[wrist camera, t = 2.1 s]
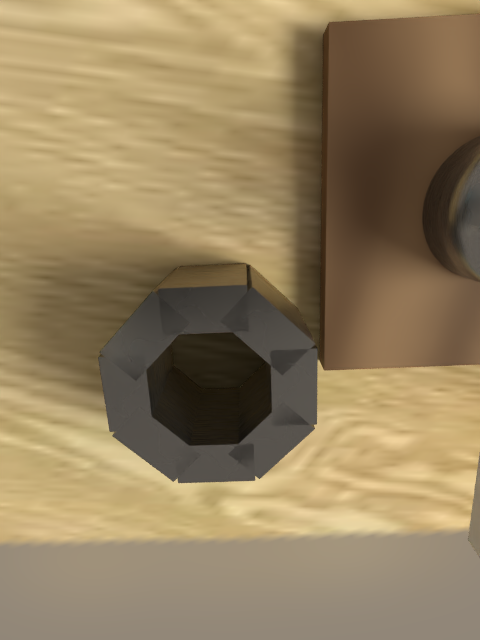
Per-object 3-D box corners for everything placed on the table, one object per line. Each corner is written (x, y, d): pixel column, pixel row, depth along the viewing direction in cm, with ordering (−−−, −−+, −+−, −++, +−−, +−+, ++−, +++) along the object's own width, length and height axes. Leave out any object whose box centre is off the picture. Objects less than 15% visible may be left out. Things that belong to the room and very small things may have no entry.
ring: (146, 420, 21) (117, 485, 16) (127, 268, 19) (88, 291, 14) (299, 415, 21) (316, 478, 16) (298, 261, 19) (318, 281, 14)
